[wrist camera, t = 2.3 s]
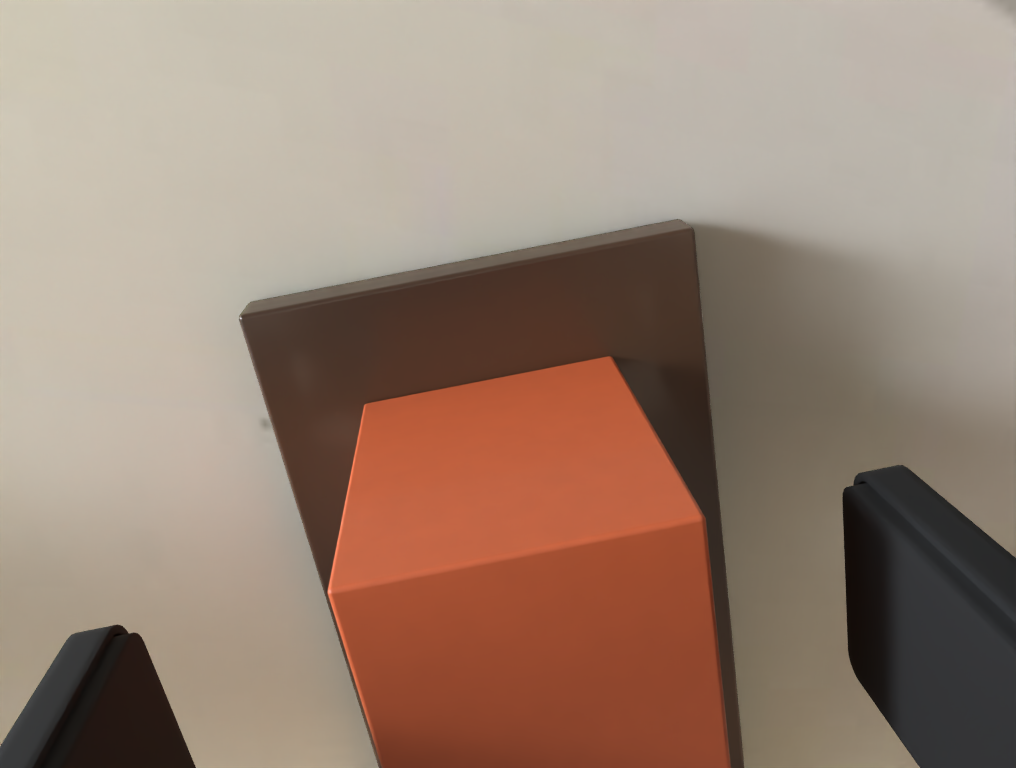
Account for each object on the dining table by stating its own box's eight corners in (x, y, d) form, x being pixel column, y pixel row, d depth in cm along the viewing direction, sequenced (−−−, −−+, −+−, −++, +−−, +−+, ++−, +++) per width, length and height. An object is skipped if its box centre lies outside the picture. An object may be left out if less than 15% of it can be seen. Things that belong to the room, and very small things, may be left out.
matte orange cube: (363, 402, 13) (325, 590, 9) (611, 354, 13) (706, 515, 9) (417, 609, 15) (409, 863, 10) (641, 564, 15) (734, 798, 10)
